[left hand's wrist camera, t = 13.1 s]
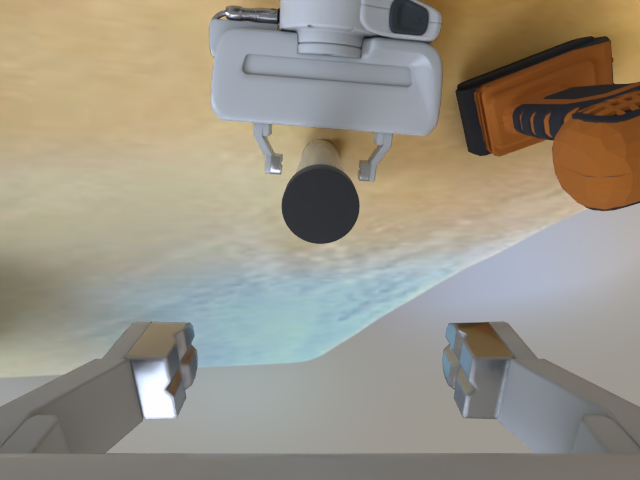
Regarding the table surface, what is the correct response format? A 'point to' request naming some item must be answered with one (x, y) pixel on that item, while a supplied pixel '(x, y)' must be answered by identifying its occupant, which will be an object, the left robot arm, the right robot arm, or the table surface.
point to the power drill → (562, 119)
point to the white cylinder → (320, 155)
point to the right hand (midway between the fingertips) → (319, 176)
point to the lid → (320, 204)
